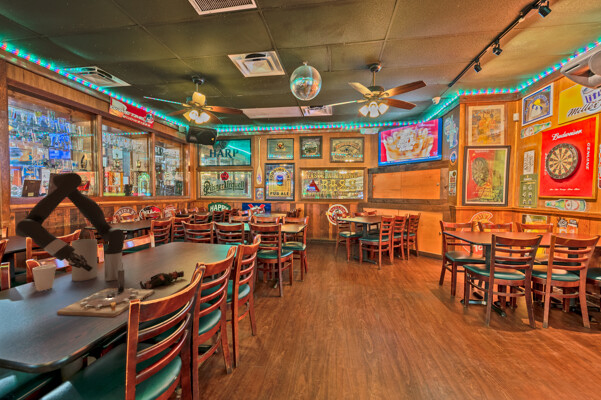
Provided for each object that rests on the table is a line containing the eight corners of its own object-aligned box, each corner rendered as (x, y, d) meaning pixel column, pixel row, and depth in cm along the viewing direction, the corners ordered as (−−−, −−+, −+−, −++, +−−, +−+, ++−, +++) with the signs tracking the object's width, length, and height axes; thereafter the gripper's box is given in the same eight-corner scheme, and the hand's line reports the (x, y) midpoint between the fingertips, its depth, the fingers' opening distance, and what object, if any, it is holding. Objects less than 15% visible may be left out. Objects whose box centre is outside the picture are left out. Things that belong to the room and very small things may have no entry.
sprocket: (131, 286, 143) (131, 266, 142) (143, 298, 127) (143, 275, 127) (77, 299, 125) (77, 275, 125) (83, 314, 109) (83, 288, 109)
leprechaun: (136, 283, 146) (176, 268, 167) (141, 298, 144) (181, 281, 165) (142, 277, 141) (183, 263, 161) (148, 293, 139) (188, 276, 160)
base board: (107, 290, 141) (107, 285, 141) (154, 292, 139) (154, 287, 139) (57, 314, 113) (57, 307, 113) (114, 316, 111) (114, 310, 111)
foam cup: (28, 293, 135) (28, 270, 135) (37, 287, 144) (37, 265, 143) (52, 290, 140) (51, 268, 139) (58, 285, 148) (58, 263, 148)
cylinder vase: (82, 282, 153) (82, 243, 153) (66, 280, 155) (66, 242, 155) (102, 275, 166) (101, 239, 165) (86, 274, 167) (86, 238, 167)
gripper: (61, 246, 118) (93, 267, 124) (71, 241, 130) (100, 261, 136) (46, 258, 116) (80, 279, 122) (58, 252, 128) (88, 271, 134)
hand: (91, 269), depth 129 cm, fingers closed
